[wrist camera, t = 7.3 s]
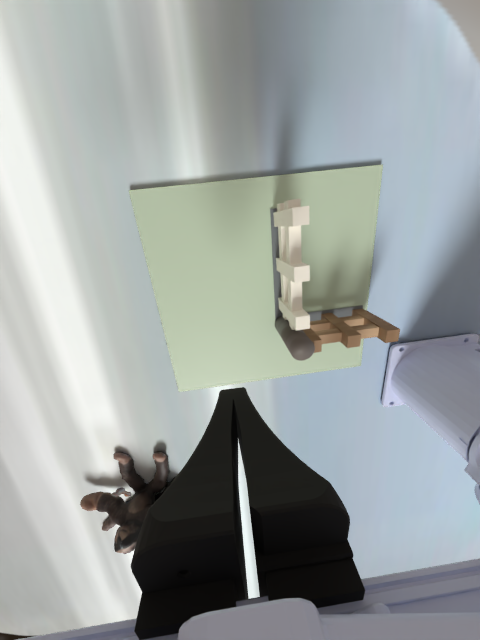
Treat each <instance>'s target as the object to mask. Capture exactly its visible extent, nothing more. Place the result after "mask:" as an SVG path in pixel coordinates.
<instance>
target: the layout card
mask: <svg viewBox="0 0 480 640" xmlns="http://www.w3.org/2000/svg"><path fill="white" fill-rule="evenodd" d="M382 169H383V165H373V166H364V167H354V168H344V169H334V170H324V171H314V172H305V173H295V174H285V175H275V176H265V177H255V178H246V179H236V180H226V181H216V182H206V183H196V184H187V185H177V186H167V187H157V188H147V189H137V190H129V194H130V198H131V202H132V206H133V210H134V214H135V218H136V222H137V226H138V230H139V234H140V238H141V242H142V246H143V250H144V254H145V258H146V262H147V266H148V270H149V274H150V278H151V282H152V286H153V290H154V294H155V298H156V302H157V306H158V310H159V314H160V318H161V322H162V326H163V330H164V334H165V338H166V342H167V346H168V350H169V354H170V358H171V362H172V366H173V370H174V374H175V378H176V382H177V386H178V390H179V392H183V391H190V390H196V389H203V388H210V387H217V386H224V385H231V384H238V383H245V382H252V381H259V380H266V379H273V378H280V377H287V376H294V375H300V374H307V373H314V372H321V371H328V370H335V369H342V368H349V367H356V366H361V359H362V350H363V341H364V339H361V342H360V346H359V347H352V348H347V347H345V346H344V345H343V344H342V343H341V342H335V343H328V344H322V351H321V352H316V353H313V355H312V356H311V357H310V358H308V359H306V360H303V361H299V360H296V359H294V358H293V357H292V355H291V353H290V352H289V350H288V348H287V347H286V345H285V343H284V341H283V340H282V338H281V336H280V335H279V333H278V331H277V330H276V328H275V321H276V320H277V318H278V317H280V316H282V315H283V313H282V312H281V311H280V309H279V301H278V298H280V297H282V294H281V275H280V272H278V271H277V266H276V258H280V256H279V237H278V227H274V215H273V213H275V212H277V204H279V203H284V201H287V200H293V199H301V207H303V206H309V224H308V225H301V254H302V262H303V263H305V264H308V265H310V281H305V282H302V308H303V309H304V310H305V311H306V312H307V313H308V314H309V315H310V321H317V320H321V314H325V313H333V314H334V315H336V316H337V317H338V318H340V317H347V316H352V310H355V309H364V310H366V311H367V305H368V295H369V286H370V277H371V268H372V259H373V250H374V241H375V232H376V223H377V214H378V205H379V196H380V187H381V178H382Z"/></svg>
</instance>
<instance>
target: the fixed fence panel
mask: <svg viewBox="0 0 480 640" xmlns="http://www.w3.org/2000/svg"><path fill="white" fill-rule="evenodd" d="M275 328H276V330H277V331H278V333H279V335H280V336H281V338H282V340H283V341H284V343H285V345H286V347H287V348H288V350H289V352H290V353H291V355H292V357H293V358H294V359H296V360H299V361H303V360H306V359H308V358H310V357H311V356H312V355H313V353H316V352H321V351H322V344H328V343H335V342H341V343H342V344H343V345H344V346H345V347H347V348H352V347H359V346H360V342H361V339H364V338H371V337H378V338H379V339H381V340H382V341H383V342H385V343H388V342H395V341H398V338H399V332H400V329H399V328H397V327H395V326H393V325H392V324H390V323H388V322H386V321H384V320H383V319H381V318H379V317H377V316H375V315H373V314H372V313H370V312H368V311H366V310H364V309H355V310H352V316H347V317H340V318H338V317H337V316H336V315H334V314H333V313H325V314H321V320H317V321H310V329H303V330H297V331H296V330H292V329H291V327H290V326H289V321H288V320H285V319H284V318H283V315H282V316H280V317H278V318H277V320H276V321H275Z"/></svg>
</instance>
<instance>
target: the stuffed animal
mask: <svg viewBox="0 0 480 640" xmlns="http://www.w3.org/2000/svg"><path fill="white" fill-rule="evenodd" d="M114 459H116V460H118V461H119V467H120V473H121V475H122V479H124V480H125V481H126V482H127V483H128V484H129V486H130V487H131V488H133V490H134V491H135V494H134V495H133V497H132V499H131V500H130V501H127V502H126V503H125V502H124V500H123V499H122V498H121V497H119V495H121V494H125V496H131V492H127V491H125V489H124V488H118V489H117V490H116V492H115V493H112V494H111V493H105V492H96V493H91V494H89V495H86V496H84V497H83V498H82V500H81V504H80V505H81V507H82V508H83V509H85V510H87V511H93V510H98V511H99V512H107V513H108V514H109V516H110V517H109V518H108V519H107V520H106V521H105V522H104V524H103V526H102V530H104V531H108V530H109V529H110V528H112V527H113V526H114V525H115V524H117V525H120V527H119V528H118V530H117V532H116V536H115V543H114V548H115V552H118V553H124V554H126V553H129V552H131V551H133V550H134V549H135V547H136V543H137V539H138V536H139V532H140V530H141V527H142V524H143V522H144V519H145V517H146V514H147V512H148V510H149V508H150V507H151V506H152V505H153V504H154V503H155V502H156V501H157V500H158V498H159V497H160V496H161V495H162V494H163V493H164V492H165V491H166V489H167V488H168V487H169V486H170V485H171V483H172V482H173V481H174V479H175V478H176V477H175V478H174V479H173V481H172V482H166V481H167V477H168V474H169V473H170V471H169V468H168V457H167V456H166V455H165V454H164V453H163V452H157V453H154V454H153V459H155V464H156V469H157V470H156V473H155V476H154V479H153V480H152V481H151V482H150V483H148V484H146V483H145V482H144V479H143V478H142V477H141V476H140V475H138V474H136V471H135V470H134V467H133V465H134V461H133V460H132V459H131V458H130V456H128V455H127V454H125V453H121V452H116V453H114ZM165 487H166V488H165ZM164 488H165V491H163V492H161V493H159V494H157V495H155V496H154V494H155V493H158V492H160V491H161V490H163V489H164Z"/></svg>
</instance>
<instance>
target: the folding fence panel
mask: <svg viewBox="0 0 480 640" xmlns="http://www.w3.org/2000/svg"><path fill="white" fill-rule="evenodd" d="M273 215H274V227H278V237H279V256H280V258H276V266H277V271H278V272H280V275H281V294H282V297H280V298H278V301H279V309H280V311H281V312H282V313H283V318H284V319H285V320H288V321H289V326H290V327H291V329H292V330H296V331H297V330H303V329H310V315H309V314H308V313H307V312H306V311H305V310H304V309H303V308H302V282H305V281H310V265H308V264H305V263H303V262H302V254H301V225H308V224H309V206H303V207H301V199H293V200H287V201H284V203H279V204H277V212H275V213H273Z"/></svg>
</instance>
